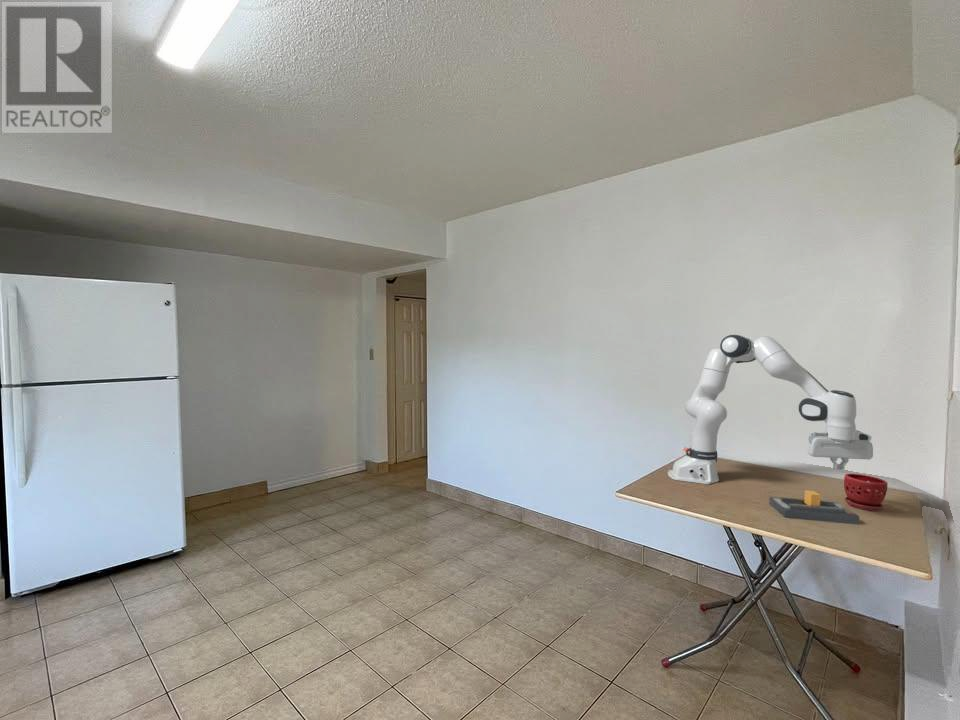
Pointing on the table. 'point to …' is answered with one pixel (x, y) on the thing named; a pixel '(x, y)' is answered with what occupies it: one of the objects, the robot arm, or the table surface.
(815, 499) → the block
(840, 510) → the gray rectangular tray
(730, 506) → the table surface
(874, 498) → the plant pot
